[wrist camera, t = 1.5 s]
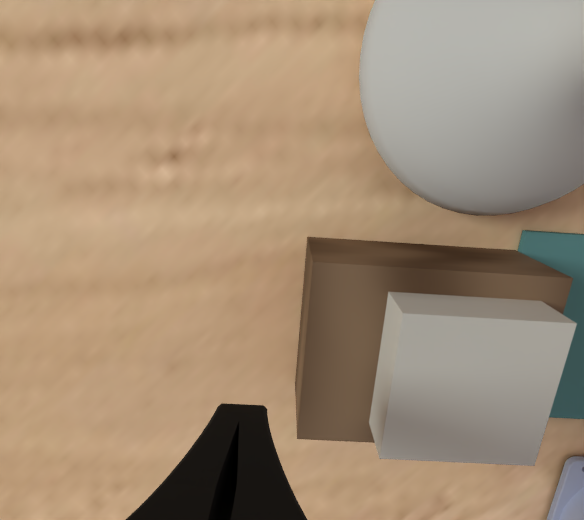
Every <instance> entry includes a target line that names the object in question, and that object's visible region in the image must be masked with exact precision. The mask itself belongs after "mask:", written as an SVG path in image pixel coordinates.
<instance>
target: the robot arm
mask: <svg viewBox="0 0 584 520" xmlns="http://www.w3.org/2000/svg"><path fill="white" fill-rule="evenodd" d="M126 520H307V518H306V517H305V515H304V513H303V511H302V509H301V507H300V505H299V504H298V502H297V500H296V498H295V496H294V494H293V491H292V489H291V487H290V485H289V483H288V480H287V478H286V476H285V473H284V471H283V468H282V466H281V463H280V461H279V458H278V455H277V452H276V449H275V446H274V443H273V440H272V436H271V432H270V428H269V424H268V417H267V409H266V408H265V407H264V406H262V405H241V404H221V405H219V406H218V408H217V409H216V411H215V413H214V415H213V417H212V418H211V420H210V421H209V423H208V425H207V426H206V428H205V429H204V431H203V432H202V434H201V435H200V436H199V438H198V439H197V440H196V442H195V443H194V445H193V446H192V447H191V449H190V450H189V451H188V453H187V454H186V455H185V457H184V458H183V459H182V460H181V461H180V463H179V464H178V465H177V466H176V467H175V469H174V470H173V471H172V472H171V473H170V475H169V476H168V477H167V478H166V479H165V480H164V482H163V483H162V484H161V485H160V486H159V487H158V488H157V489H156V490H155V491H154V492H153V494H152V495H151V496H150V497H149V498H148V499H147V500H146V501H145V502H144V503H143V504H142V505H141V506H140V507H139V508H138V509H137V510H136V511H134V512H133V513H132V514H131V515H130V516H129V517H128V518H127V519H126ZM547 520H584V457H580V456H574V457H570V458H569V459H567V460H566V462H565V465H564V468H563V471H562V474H561V477H560V480H559V483H558V486H557V489H556V492H555V495H554V498H553V501H552V504H551V508H550V511H549V514H548V517H547Z"/></svg>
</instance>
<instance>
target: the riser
mask: <svg viewBox="0 0 584 520" xmlns="http://www.w3.org/2000/svg"><path fill="white" fill-rule="evenodd" d="M572 281H573V278H572V277H570V276H568V275H566V274H563V273H561V272H559V271H557V270H555V269H553V268H551V267H549V266H547V265H545V264H543V263H541V262H539V261H537V260H535V259H532V258H530V257H528V256H526V255H524V254H522V253H520V252H518V251H516V250H501V249H486V248H470V247H455V246H439V245H424V244H408V243H393V242H377V241H362V240H347V239H331V238H316V237H307V248H306V261H305V273H304V285H303V297H302V309H301V321H300V333H299V345H298V357H297V369H296V381H295V392H296V420H297V439H311V440H332V441H353V442H373V443H375V442H374V438H373V435H372V431H371V428H370V425H369V419H370V413H371V406H372V399H373V393H374V386H375V379H376V372H377V366H378V359H379V352H380V345H381V339H382V332H383V325H384V318H385V312H386V305H387V298H388V292H403V293H419V294H435V295H452V296H468V297H485V298H501V299H518V300H534V301H542V302H544V303H545V304H547V305H548V306H550V307H552V308H553V309H555V310H556V311H558V312H560V313H561V314H563V312H564V309H565V305H566V302H567V298H568V295H569V291H570V288H571V285H572Z"/></svg>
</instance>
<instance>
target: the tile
mask: <svg viewBox="0 0 584 520" xmlns="http://www.w3.org/2000/svg"><path fill="white" fill-rule="evenodd" d="M576 325H577V323H575V322H574V321H572V320H571V319H569V318H567V317H566V316H564V315H563V314H561V313H560V312H558V311H556V310H555V309H553V308H552V307H550V306H548V305H547V304H545V303H544V302H542V301H534V300H518V299H501V298H485V297H468V296H452V295H435V294H419V293H403V292H388V298H387V305H386V312H385V318H384V325H383V332H382V339H381V345H380V352H379V359H378V366H377V372H376V379H375V386H374V393H373V399H372V406H371V413H370V419H369V425H370V428H371V431H372V435H373V438H374V442H375V445H376V449H377V452H378V455H379V459H399V460H420V461H442V462H463V463H484V464H506V465H527V466H534V465H535V462H536V458H537V455H538V452H539V448H540V445H541V442H542V438H543V435H544V432H545V428H546V425H547V422H548V418H549V415H550V412H551V408H552V405H553V402H554V398H555V395H556V392H557V389H558V385H559V382H560V379H561V375H562V372H563V369H564V365H565V362H566V359H567V355H568V352H569V349H570V345H571V342H572V339H573V335H574V332H575V329H576Z"/></svg>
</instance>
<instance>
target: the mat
mask: <svg viewBox="0 0 584 520" xmlns="http://www.w3.org/2000/svg"><path fill="white" fill-rule="evenodd" d="M518 252H520V253H522V254H524V255H526V256H528V257H530V258H532V259H535V260H537V261H539V262H541V263H543V264H545V265H547V266H549V267H551V268H553V269H555V270H557V271H559V272H561V273H563V274H566V275H568V276H570V277H572V278H573V281H572V285H571V288H570V291H569V295H568V298H567V302H566V305H565V309H564V312H563V315H564V316H566V317H567V318H569V319H571V320H572V321H574V322H575V323H577V325H576V329H575V332H574V335H573V339H572V342H571V345H570V349H569V352H568V355H567V359H566V362H565V365H564V369H563V372H562V375H561V379H560V382H559V385H558V389H557V392H556V395H555V398H554V402H553V405H552V408H551V412H550V415H549V417H554V418H573V419H584V234H573V233H558V232H543V231H528V230H523V232H522V236H521V240H520V244H519V248H518Z"/></svg>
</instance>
